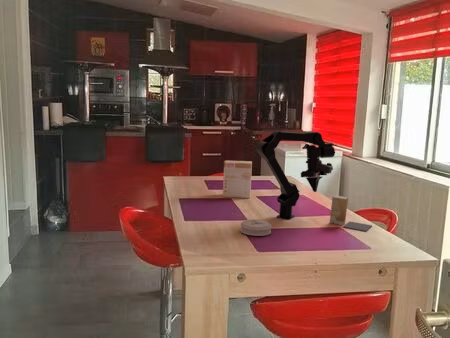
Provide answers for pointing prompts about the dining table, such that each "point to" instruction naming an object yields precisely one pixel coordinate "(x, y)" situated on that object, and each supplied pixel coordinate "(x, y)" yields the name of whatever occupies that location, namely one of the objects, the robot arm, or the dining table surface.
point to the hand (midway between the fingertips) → (315, 191)
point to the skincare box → (338, 210)
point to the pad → (357, 226)
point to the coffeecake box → (237, 179)
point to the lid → (255, 227)
